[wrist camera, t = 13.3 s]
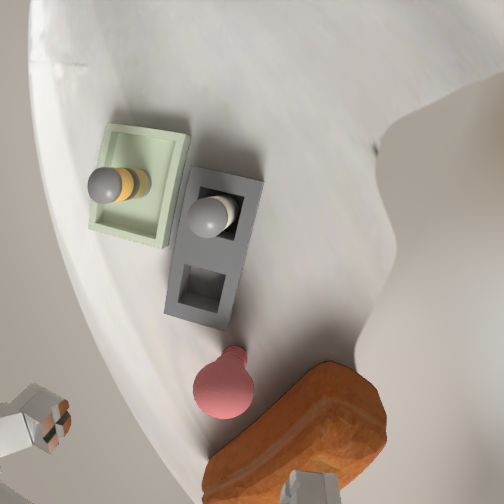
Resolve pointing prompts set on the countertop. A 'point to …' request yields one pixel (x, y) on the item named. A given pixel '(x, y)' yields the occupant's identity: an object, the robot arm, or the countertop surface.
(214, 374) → the light bulb
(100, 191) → the cylinder
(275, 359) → the countertop surface
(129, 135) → the tray
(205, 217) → the ball
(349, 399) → the bread
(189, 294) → the fuse holder
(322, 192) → the countertop surface
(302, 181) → the countertop surface
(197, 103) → the countertop surface
